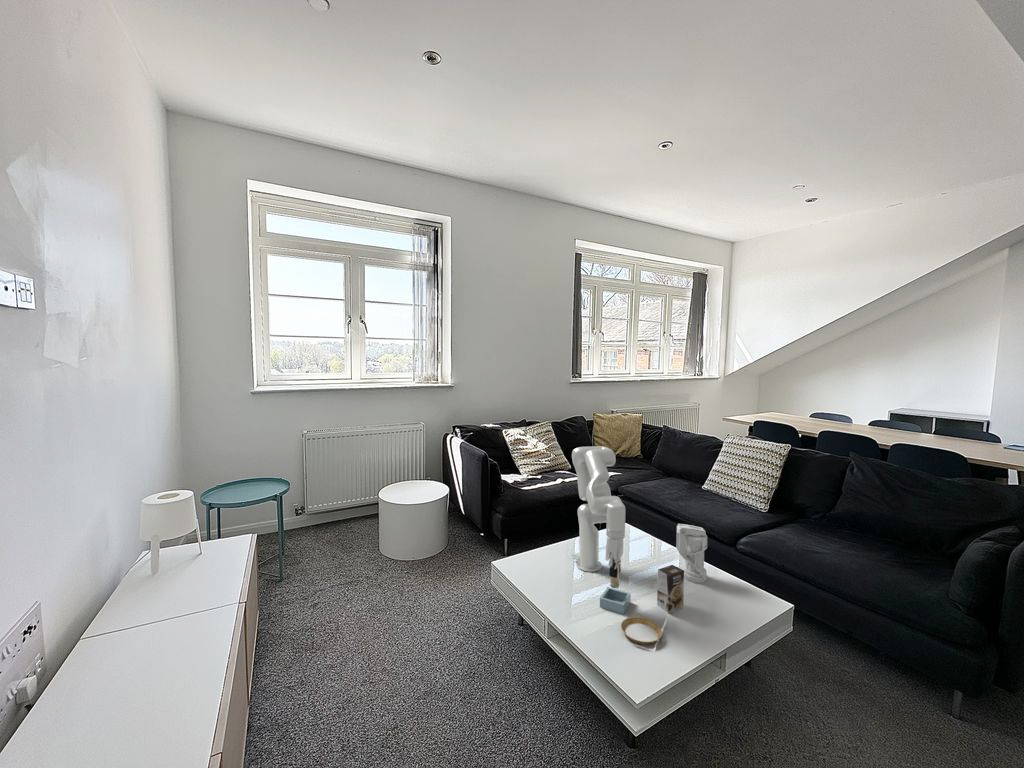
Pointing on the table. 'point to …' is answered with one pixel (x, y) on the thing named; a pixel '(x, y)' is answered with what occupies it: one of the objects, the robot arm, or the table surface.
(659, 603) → the coffee box
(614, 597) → the holder
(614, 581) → the dowel
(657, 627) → the plant saucer
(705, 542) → the white sculpture
